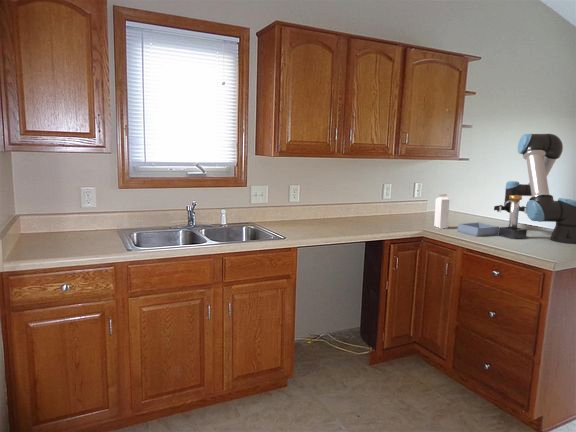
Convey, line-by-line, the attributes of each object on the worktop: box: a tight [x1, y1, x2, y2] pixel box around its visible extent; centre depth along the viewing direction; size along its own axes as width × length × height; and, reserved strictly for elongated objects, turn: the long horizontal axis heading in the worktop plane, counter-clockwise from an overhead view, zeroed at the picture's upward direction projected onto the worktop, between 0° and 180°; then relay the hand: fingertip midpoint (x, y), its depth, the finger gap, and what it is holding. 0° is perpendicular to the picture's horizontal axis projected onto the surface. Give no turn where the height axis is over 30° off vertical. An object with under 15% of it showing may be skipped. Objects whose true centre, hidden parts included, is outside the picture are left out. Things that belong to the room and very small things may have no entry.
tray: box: [457, 222, 500, 238], centre depth 254 cm, size 16×16×5 cm
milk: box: [433, 193, 450, 228], centre depth 270 cm, size 6×6×22 cm
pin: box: [508, 195, 523, 230], centre depth 242 cm, size 6×6×24 cm
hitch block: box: [498, 226, 528, 240], centre depth 244 cm, size 10×10×5 cm
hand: (513, 210), depth 252 cm, fingers open, 13 cm apart
